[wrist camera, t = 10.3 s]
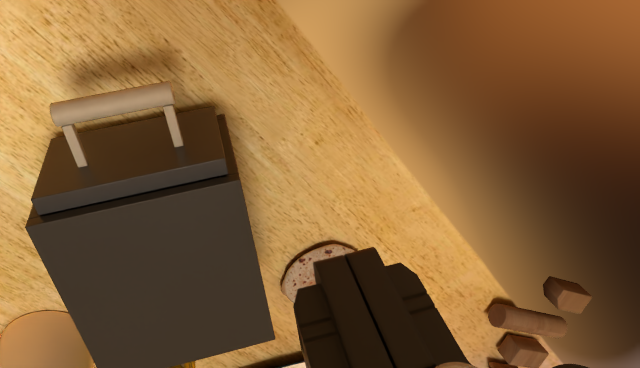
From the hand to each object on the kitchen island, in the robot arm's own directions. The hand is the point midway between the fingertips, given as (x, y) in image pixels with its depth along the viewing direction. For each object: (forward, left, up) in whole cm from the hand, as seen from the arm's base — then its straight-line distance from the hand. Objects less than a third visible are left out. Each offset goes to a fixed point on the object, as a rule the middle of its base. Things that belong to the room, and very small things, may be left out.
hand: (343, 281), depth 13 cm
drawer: (+12, -8, -28) cm, 32 cm away
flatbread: (+27, +4, -29) cm, 40 cm away
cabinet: (+16, -8, -29) cm, 34 cm away
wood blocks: (+49, +27, -27) cm, 62 cm away
